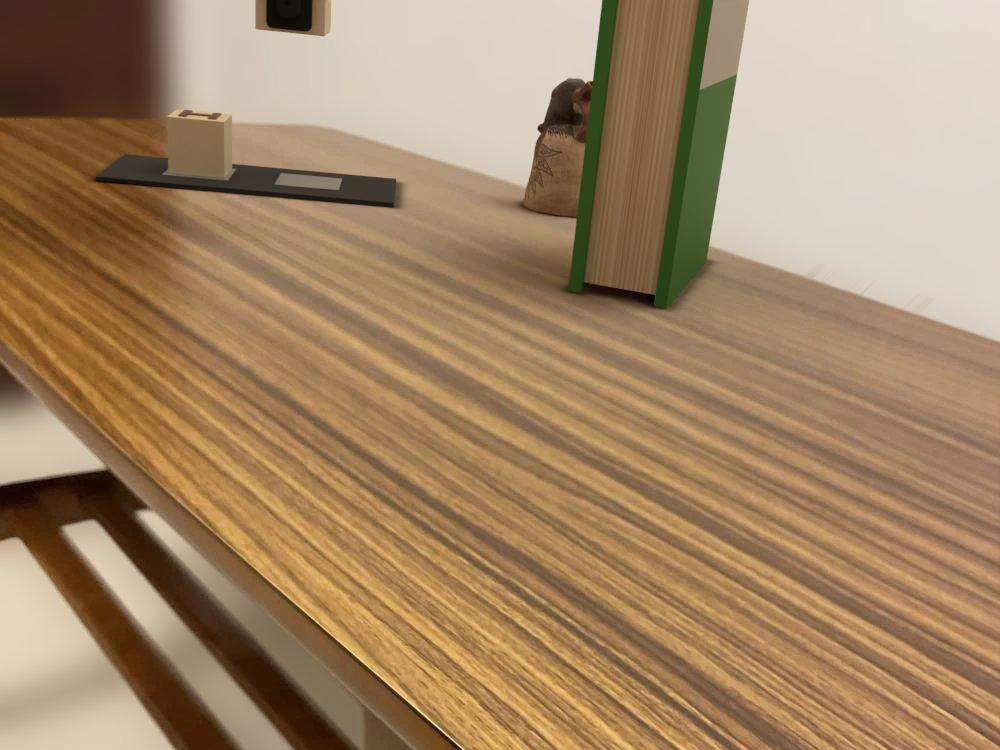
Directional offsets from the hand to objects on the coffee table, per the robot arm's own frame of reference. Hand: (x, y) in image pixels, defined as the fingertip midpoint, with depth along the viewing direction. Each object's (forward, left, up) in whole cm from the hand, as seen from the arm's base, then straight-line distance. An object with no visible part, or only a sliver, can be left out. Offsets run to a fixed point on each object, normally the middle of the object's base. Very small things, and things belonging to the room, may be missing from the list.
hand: (293, 23), depth 92 cm
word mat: (-5, +19, -15) cm, 25 cm away
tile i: (0, 0, 0) cm, 0 cm away
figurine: (+24, +19, -16) cm, 35 cm away
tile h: (-10, +19, -15) cm, 26 cm away
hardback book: (+28, -5, -16) cm, 32 cm away
